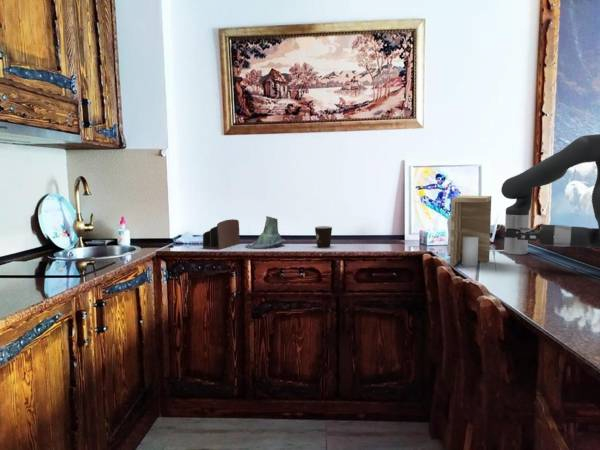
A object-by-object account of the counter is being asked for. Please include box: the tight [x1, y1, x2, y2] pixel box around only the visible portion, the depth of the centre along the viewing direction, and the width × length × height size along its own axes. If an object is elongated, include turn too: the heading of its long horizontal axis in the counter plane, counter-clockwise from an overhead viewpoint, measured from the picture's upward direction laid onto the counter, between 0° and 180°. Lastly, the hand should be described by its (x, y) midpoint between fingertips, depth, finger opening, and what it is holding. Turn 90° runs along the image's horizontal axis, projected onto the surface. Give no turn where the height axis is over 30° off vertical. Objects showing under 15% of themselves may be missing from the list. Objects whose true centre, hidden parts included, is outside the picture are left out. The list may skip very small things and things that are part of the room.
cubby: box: [449, 195, 492, 268], centre depth 168 cm, size 17×12×26 cm
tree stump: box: [244, 215, 286, 250], centre depth 223 cm, size 18×20×18 cm
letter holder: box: [202, 218, 241, 251], centre depth 224 cm, size 10×20×14 cm, turn 157°
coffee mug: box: [314, 225, 333, 249], centre depth 218 cm, size 12×9×10 cm
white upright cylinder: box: [461, 236, 479, 267], centre depth 168 cm, size 6×6×11 cm
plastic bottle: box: [446, 215, 451, 256], centre depth 187 cm, size 6×7×20 cm
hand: (505, 232), depth 161 cm, fingers open, 8 cm apart
